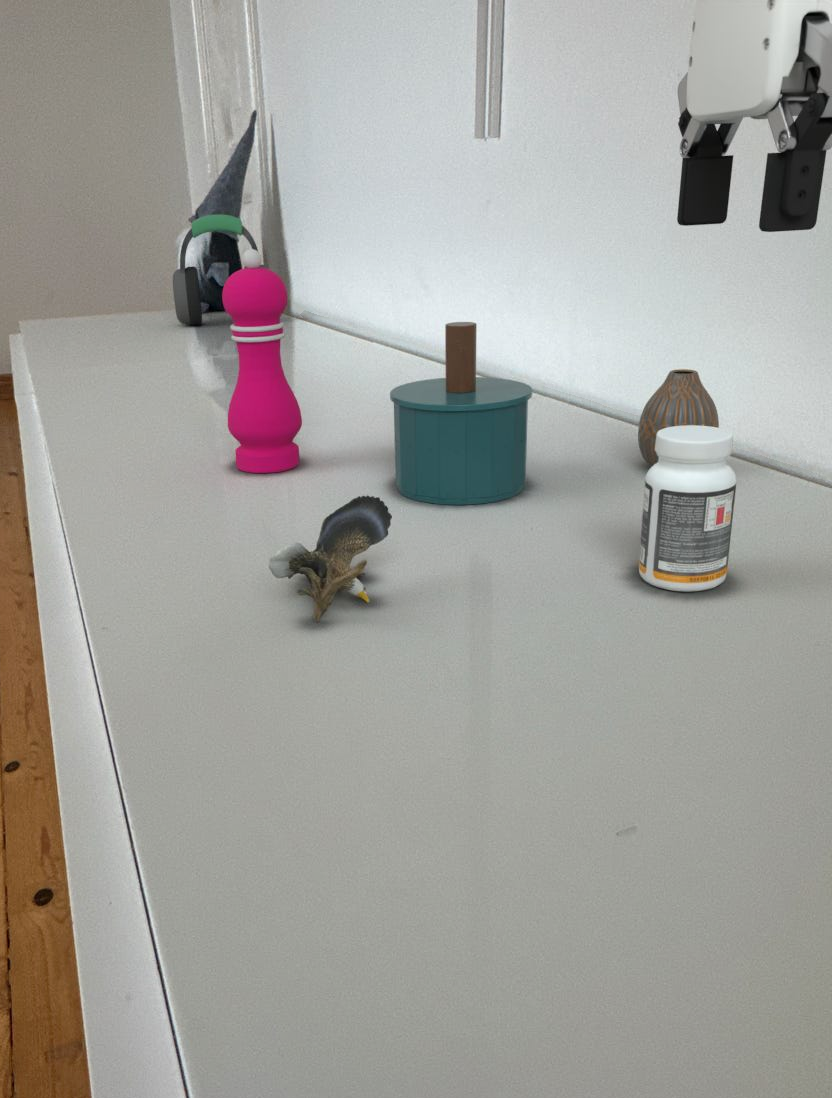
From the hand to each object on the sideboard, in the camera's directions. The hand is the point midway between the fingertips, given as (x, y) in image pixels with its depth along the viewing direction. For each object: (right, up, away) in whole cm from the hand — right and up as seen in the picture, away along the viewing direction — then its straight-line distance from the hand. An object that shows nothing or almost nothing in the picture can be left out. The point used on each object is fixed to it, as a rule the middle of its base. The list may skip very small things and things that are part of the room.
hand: (741, 227), depth 61 cm
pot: (-14, -11, +29) cm, 34 cm away
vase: (+6, -10, +31) cm, 33 cm away
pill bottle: (-1, -21, +7) cm, 22 cm away
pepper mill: (-32, -8, +38) cm, 51 cm away
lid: (-14, -4, +26) cm, 30 cm away
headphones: (-49, +38, +139) cm, 152 cm away
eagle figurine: (-25, -23, +6) cm, 34 cm away
